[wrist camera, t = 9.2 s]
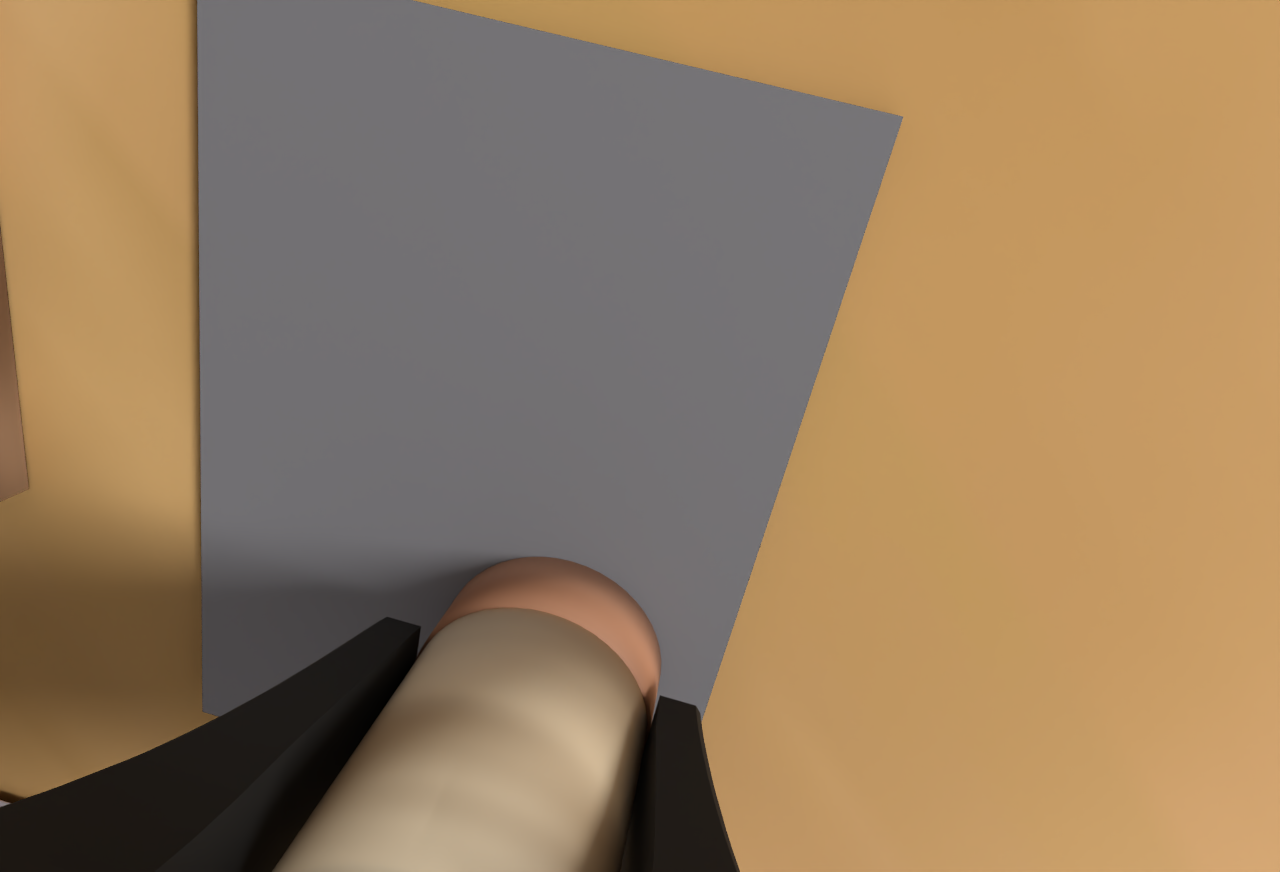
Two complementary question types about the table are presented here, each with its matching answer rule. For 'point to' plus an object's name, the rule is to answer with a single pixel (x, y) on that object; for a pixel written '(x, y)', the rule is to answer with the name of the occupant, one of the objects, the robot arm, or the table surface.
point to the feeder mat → (497, 321)
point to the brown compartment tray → (9, 405)
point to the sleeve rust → (502, 736)
